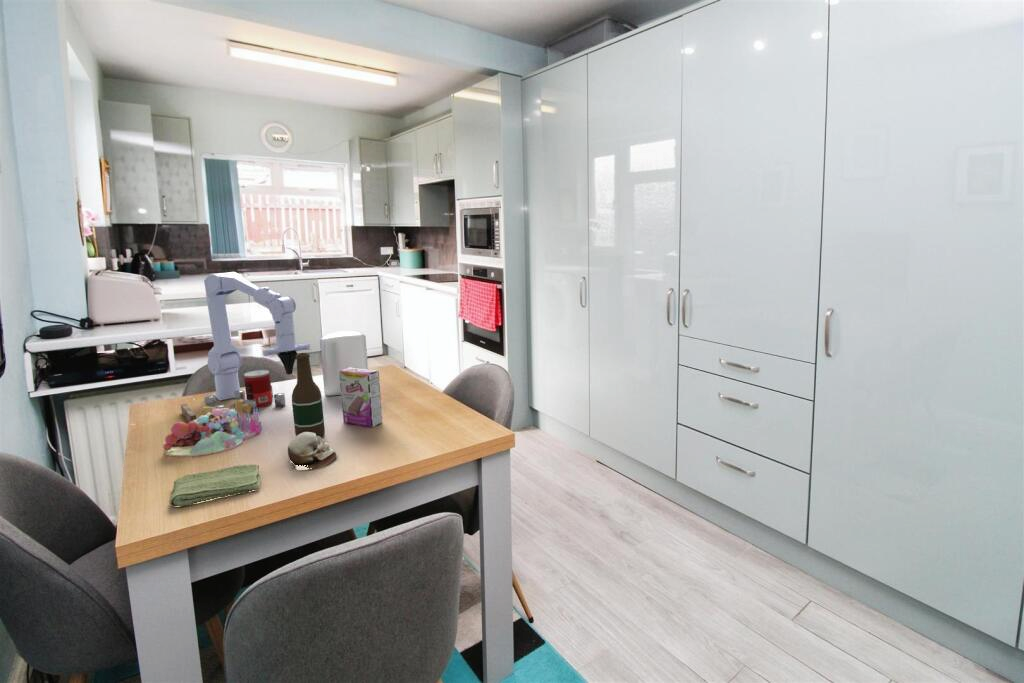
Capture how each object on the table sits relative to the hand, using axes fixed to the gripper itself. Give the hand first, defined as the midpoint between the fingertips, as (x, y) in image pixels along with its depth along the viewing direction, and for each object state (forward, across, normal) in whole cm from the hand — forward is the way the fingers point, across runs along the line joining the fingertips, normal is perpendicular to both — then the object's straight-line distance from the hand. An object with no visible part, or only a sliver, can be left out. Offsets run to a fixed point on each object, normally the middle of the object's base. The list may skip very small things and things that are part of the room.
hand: (289, 373), depth 182 cm
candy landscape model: (+11, -27, -18) cm, 34 cm away
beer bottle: (+10, -7, -37) cm, 39 cm away
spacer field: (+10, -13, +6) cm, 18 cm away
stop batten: (+10, -30, +6) cm, 32 cm away
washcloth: (+11, -34, -54) cm, 64 cm away
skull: (+11, -13, -53) cm, 55 cm away
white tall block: (+10, +21, 0) cm, 23 cm away
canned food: (+10, -8, +6) cm, 15 cm away
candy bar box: (+10, +9, -36) cm, 38 cm away
